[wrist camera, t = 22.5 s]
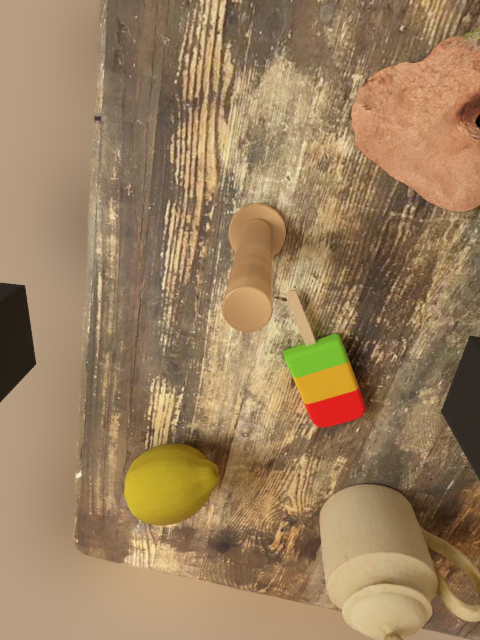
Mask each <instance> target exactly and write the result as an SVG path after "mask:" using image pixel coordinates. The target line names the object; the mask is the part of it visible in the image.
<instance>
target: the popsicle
mask: <svg viewBox="0 0 480 640" xmlns="http://www.w3.org/2000/svg"><path fill="white" fill-rule="evenodd" d="M286 298H287V301H288V303H289V305H290V308H291V310H292V313H293V315H294V318H295V320H296V323H297V325H298V328H299V330H300V333H301V335H302V337H303V340H304V342H305V343H304V344H301V345H298V346H295V347H292V348H289V349H286V350H284V351H283V356H284V358H285V361H286V363H287V365H288V367H289V370H290V372H291V374H292V377H293V379H294V381H295V383H296V386H297V388H298V390H299V393H300V395H301V397H302V400H303V402H304V404H305V406H306V409H307V411H308V413H309V416H310V418H311V420H312V421H313V423H314V424H315V425H316V426H318V427H330V426H334V425H337V424H341V423H345V422H348V421H352V420H355V419H358V418H360V417H361V416H362V415H363V414H364V412H365V404H364V400H363V397H362V394H361V391H360V389H359V386H358V383H357V380H356V378H355V375H354V372H353V369H352V367H351V364H350V361H349V358H348V356H347V353H346V350H345V348H344V345H343V342H342V339H341V337H340V335H339V334H337V333H335V334H332V335H329V336H326V337H323V338H320V339H317V340H315V338H314V336H313V333H312V331H311V328H310V326H309V323H308V321H307V318H306V315H305V313H304V310H303V308H302V305H301V303H300V300H299V298H298V295H297V293H296V291H295V290H290V291H287V292H286Z"/></svg>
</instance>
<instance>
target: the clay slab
mask: <svg viewBox="0 0 480 640" xmlns="http://www.w3.org/2000/svg"><path fill="white" fill-rule="evenodd" d="M479 114H480V24H479V25H478V27H476V28H475V29H474V30H472V31H470V32H468V33H466V34H463V35H460V36H455V37H450V38H448V39H446V40H444V41H442V42H441V43H439V44H438V45H437V46H435V48H434V49H433V51H432V52H431V53H430V54H429V55H428V56H427V57H426V58H425V59H424V60H423V61H421V62H417V63H413V64H411V63H409V62H403V63H400V64H398V65H395V66H391V67H387V68H384V69H382V70H381V71H379V72H377V73H376V74H374V75H373V76H371V77H370V78H369V79H368V80H366V82H365V84H364V85H363V86H361V87H360V89H359V91H358V93H357V96H356V100H355V103H354V104H353V105H352V113H351V118H352V129H353V130H354V132H355V142H354V146H357V147H358V148H359V150H361V151H362V152H363V153H364V154H365V155H366V157H367V158H368V159H371V160H373V161H374V162H375V163H376V164H377V165H378V166H380V167H381V168H382V169H383V170H384V171H386V172H387V173H388V174H389V175H390V176H392V177H394V179H396V180H398V181H400V182H404V184H405V185H407V186H410V187H411V188H413V189H414V190H415V191H416V192H417V193H418V194H420V195H421V197H422V198H424V199H425V200H426V201H429V202H430V203H432V204H434V205H437V206H439V207H441V208H444V209H448V210H450V211H458V212H464V211H468V210H472V209H474V208H476V207H477V206H479V205H480V130H479V128H478V127H477V126H476V123H475V121H476V118H477V117H478V115H479Z"/></svg>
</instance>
